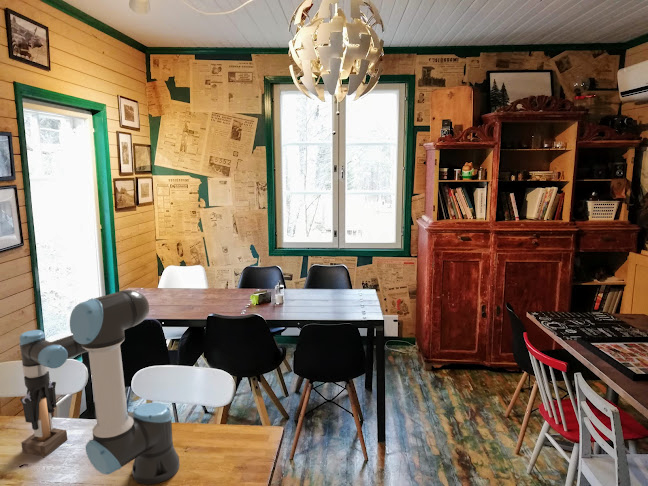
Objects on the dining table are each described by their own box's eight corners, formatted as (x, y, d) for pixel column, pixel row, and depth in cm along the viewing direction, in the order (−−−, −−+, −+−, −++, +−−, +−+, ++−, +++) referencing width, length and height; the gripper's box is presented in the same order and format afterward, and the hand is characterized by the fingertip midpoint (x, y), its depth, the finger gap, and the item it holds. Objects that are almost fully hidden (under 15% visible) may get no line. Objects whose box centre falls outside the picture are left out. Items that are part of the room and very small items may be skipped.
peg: (53, 436, 169) (48, 396, 166) (44, 442, 165) (39, 402, 162) (44, 434, 170) (39, 395, 167) (35, 441, 166) (30, 401, 163)
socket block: (67, 439, 172) (66, 430, 171) (46, 456, 162) (44, 446, 161) (45, 436, 174) (43, 426, 173) (22, 452, 164) (21, 442, 164)
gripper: (46, 361, 171) (53, 418, 176) (6, 383, 155) (15, 445, 160) (63, 363, 170) (70, 420, 174) (24, 386, 154) (33, 448, 158)
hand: (43, 432), depth 167 cm, fingers closed on peg, 4 cm apart
